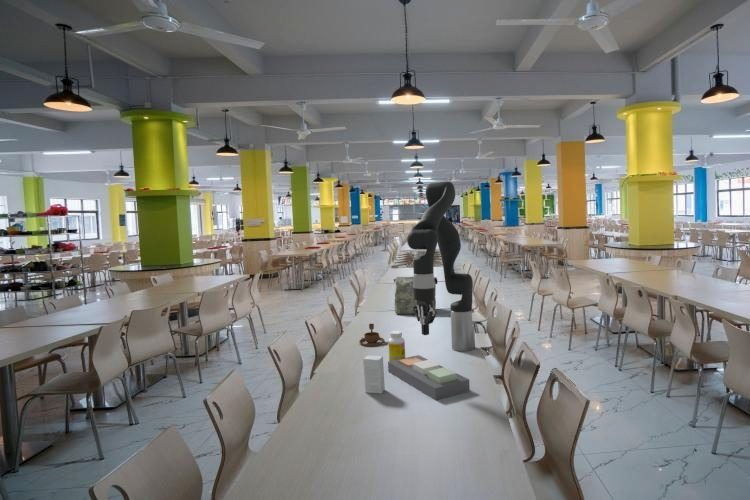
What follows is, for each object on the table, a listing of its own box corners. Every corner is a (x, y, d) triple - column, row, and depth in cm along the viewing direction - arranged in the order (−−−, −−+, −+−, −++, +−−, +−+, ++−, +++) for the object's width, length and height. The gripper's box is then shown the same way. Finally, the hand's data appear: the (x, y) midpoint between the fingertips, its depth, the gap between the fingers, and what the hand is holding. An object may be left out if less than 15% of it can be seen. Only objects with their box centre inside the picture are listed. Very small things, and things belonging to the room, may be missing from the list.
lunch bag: (438, 308, 289) (437, 273, 287) (437, 314, 271) (436, 277, 269) (396, 308, 293) (395, 274, 291) (393, 315, 275) (391, 278, 273)
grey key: (428, 367, 174) (428, 359, 174) (439, 373, 168) (439, 364, 168) (412, 371, 171) (412, 363, 171) (423, 377, 165) (422, 368, 165)
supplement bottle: (404, 365, 187) (402, 334, 186) (388, 365, 188) (386, 334, 187) (406, 360, 193) (405, 330, 192) (390, 360, 195) (389, 330, 194)
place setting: (349, 345, 220) (348, 333, 220) (369, 334, 238) (369, 323, 237) (382, 349, 212) (381, 336, 211) (401, 337, 229) (400, 325, 229)
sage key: (444, 375, 165) (444, 367, 165) (456, 381, 159) (456, 373, 159) (427, 379, 162) (427, 371, 162) (439, 386, 156) (439, 377, 156)
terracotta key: (414, 364, 183) (414, 356, 183) (424, 369, 177) (424, 361, 177) (399, 367, 180) (398, 360, 180) (408, 373, 174) (408, 365, 174)
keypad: (419, 364, 187) (418, 355, 187) (469, 390, 159) (469, 379, 159) (388, 371, 181) (387, 361, 181) (435, 400, 153) (434, 388, 152)
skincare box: (385, 389, 164) (383, 356, 163) (381, 394, 160) (379, 360, 159) (368, 388, 166) (367, 355, 165) (364, 392, 162) (362, 358, 161)
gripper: (443, 287, 160) (444, 337, 161) (423, 283, 172) (424, 329, 173) (424, 289, 157) (426, 340, 158) (405, 284, 169) (407, 332, 170)
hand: (425, 334), depth 166 cm, fingers closed
